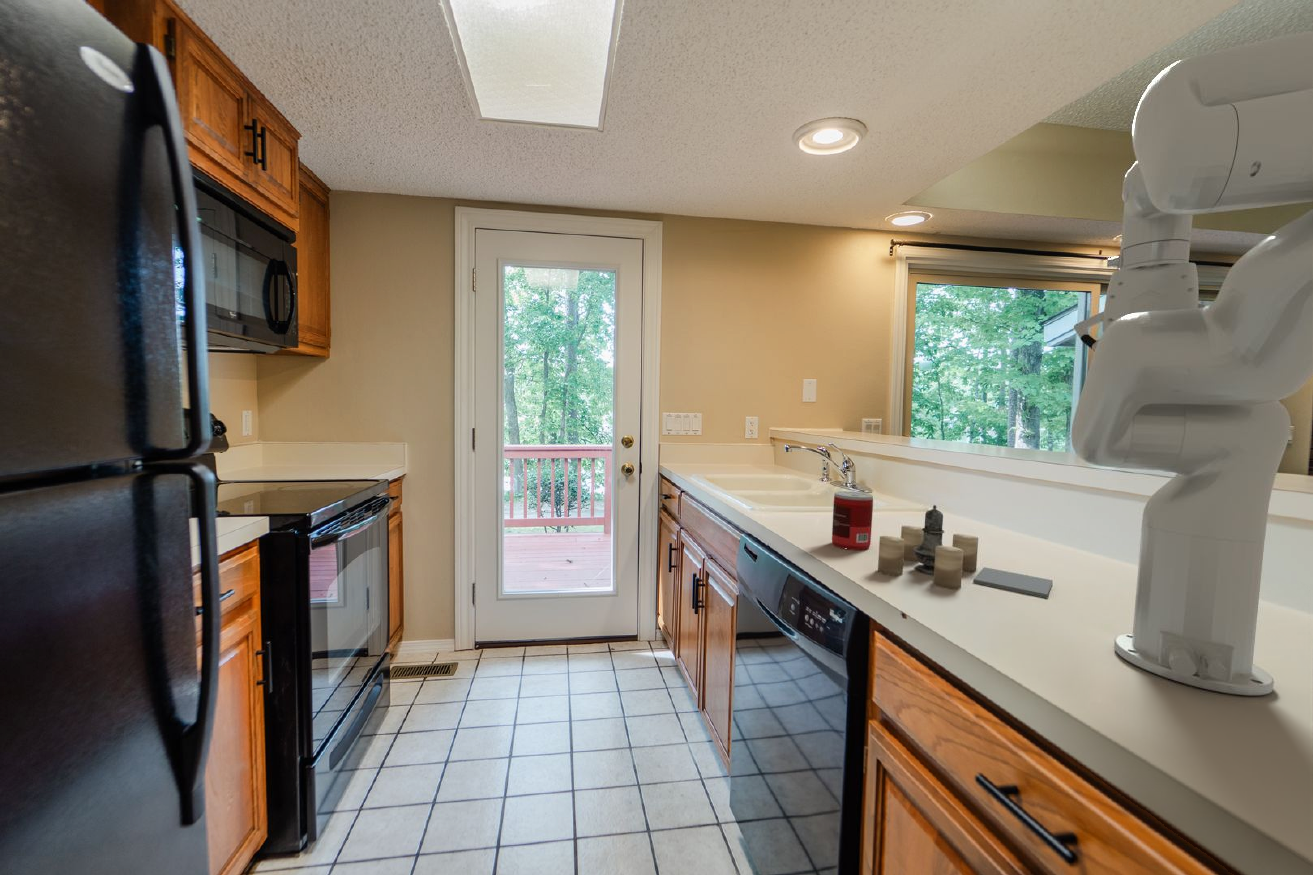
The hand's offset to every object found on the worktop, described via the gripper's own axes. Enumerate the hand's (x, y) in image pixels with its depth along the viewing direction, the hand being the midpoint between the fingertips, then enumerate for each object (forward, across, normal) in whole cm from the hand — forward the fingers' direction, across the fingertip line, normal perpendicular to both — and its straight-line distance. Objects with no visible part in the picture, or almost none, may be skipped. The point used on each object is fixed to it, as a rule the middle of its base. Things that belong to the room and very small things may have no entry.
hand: (1143, 376), depth 78 cm
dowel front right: (+35, -22, -12) cm, 43 cm away
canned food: (+35, -43, 0) cm, 56 cm away
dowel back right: (+35, -22, +1) cm, 41 cm away
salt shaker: (+35, -26, -6) cm, 44 cm away
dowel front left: (+35, -30, -13) cm, 48 cm away
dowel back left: (+35, -31, 0) cm, 47 cm away
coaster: (+35, -14, -2) cm, 38 cm away
